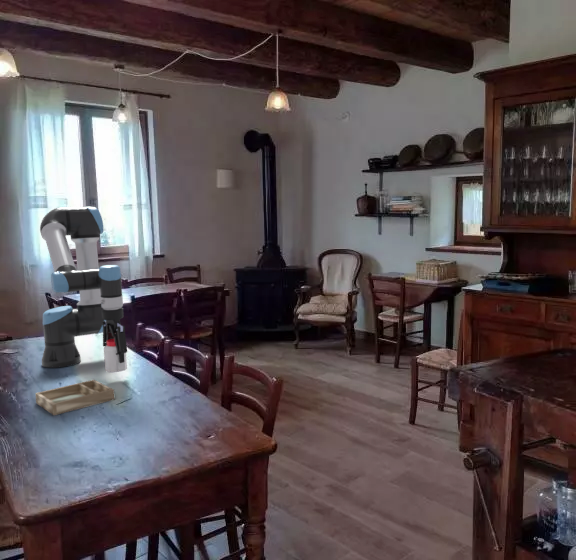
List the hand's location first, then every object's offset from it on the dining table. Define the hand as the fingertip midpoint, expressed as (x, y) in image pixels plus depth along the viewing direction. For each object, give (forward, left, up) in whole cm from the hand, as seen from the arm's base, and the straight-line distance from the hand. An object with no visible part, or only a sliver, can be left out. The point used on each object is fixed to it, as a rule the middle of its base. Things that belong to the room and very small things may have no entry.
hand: (116, 368), depth 210 cm
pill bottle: (0, 0, 0) cm, 1 cm away
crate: (+12, -20, -5) cm, 24 cm away
